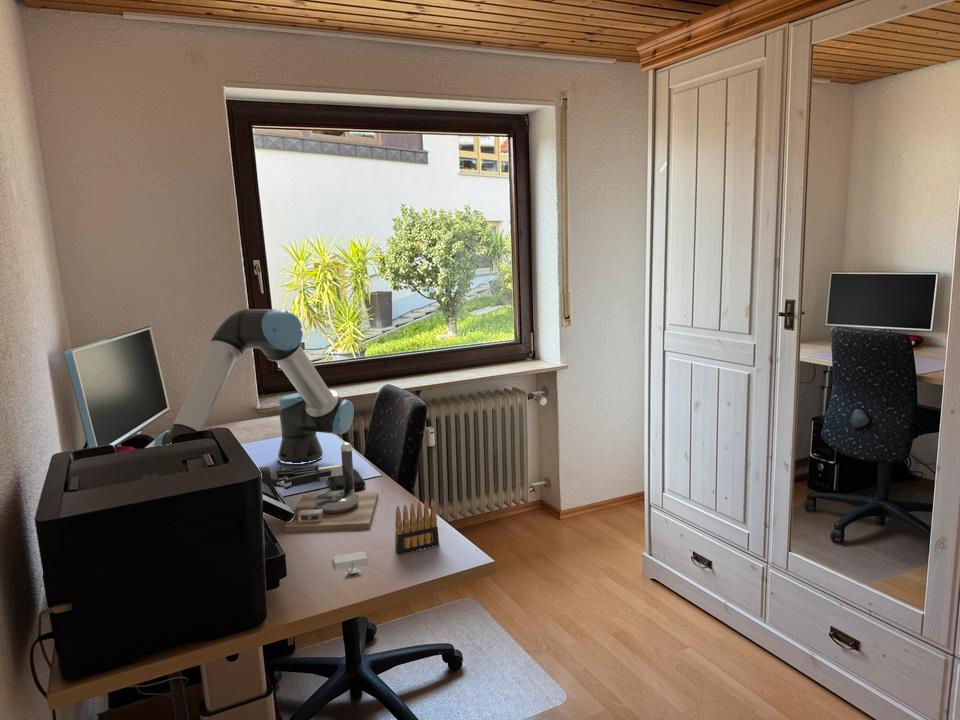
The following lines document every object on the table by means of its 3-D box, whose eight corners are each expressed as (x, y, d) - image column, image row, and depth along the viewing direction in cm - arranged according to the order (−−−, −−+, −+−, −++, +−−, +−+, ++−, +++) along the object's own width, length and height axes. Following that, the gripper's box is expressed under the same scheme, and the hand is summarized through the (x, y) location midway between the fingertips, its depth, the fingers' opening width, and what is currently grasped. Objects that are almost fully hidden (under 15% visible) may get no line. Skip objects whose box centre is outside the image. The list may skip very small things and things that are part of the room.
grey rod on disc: (345, 515, 175) (342, 459, 172) (306, 511, 178) (302, 456, 175) (370, 494, 189) (367, 442, 186) (333, 491, 192) (330, 440, 190)
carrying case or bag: (323, 480, 208) (331, 496, 194) (323, 471, 207) (331, 486, 194) (357, 475, 212) (367, 490, 198) (356, 466, 211) (366, 481, 198)
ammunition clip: (436, 542, 161) (434, 497, 159) (439, 545, 160) (437, 499, 158) (395, 552, 157) (392, 505, 155) (397, 555, 155) (395, 508, 153)
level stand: (303, 499, 191) (302, 487, 191) (378, 496, 192) (377, 484, 192) (285, 532, 170) (283, 519, 169) (369, 528, 171) (369, 515, 170)
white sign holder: (365, 556, 156) (364, 546, 156) (371, 580, 145) (370, 569, 144) (333, 561, 154) (333, 551, 154) (337, 585, 143) (336, 575, 142)
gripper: (254, 487, 184) (338, 475, 193) (258, 503, 173) (347, 489, 181) (252, 462, 183) (337, 451, 192) (256, 475, 171) (345, 463, 180)
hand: (341, 469), depth 187 cm, fingers closed
